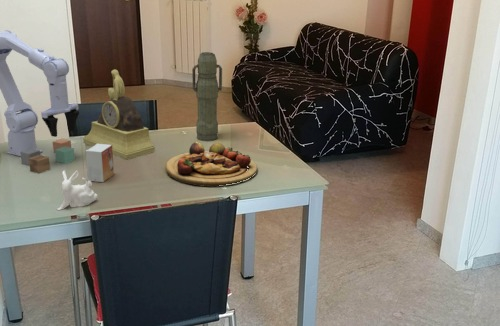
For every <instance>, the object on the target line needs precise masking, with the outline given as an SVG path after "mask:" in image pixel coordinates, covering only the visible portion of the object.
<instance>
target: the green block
mask: <svg viewBox="0 0 500 326" xmlns="http://www.w3.org/2000/svg"><path fill="white" fill-rule="evenodd" d="M54 154H55V155H54V156H55V162H57V163H60V164H64V165H65V164H68V163H72V162H74V161H75V160H76V157H75V148H73V147H71V148H70V147H65V146H64V147H61V148H58V149H55V153H54Z"/></svg>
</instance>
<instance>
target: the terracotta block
mask: <svg viewBox="0 0 500 326" xmlns="http://www.w3.org/2000/svg"><path fill="white" fill-rule="evenodd" d="M64 146H65V147H70V148H72V141H71V140H70V139H66V138H59V139H56V140H53V141H52V149H53V153H54V154H55V149H58V148H61V147H64Z"/></svg>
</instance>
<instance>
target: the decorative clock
mask: <svg viewBox="0 0 500 326" xmlns="http://www.w3.org/2000/svg"><path fill="white" fill-rule="evenodd" d="M111 76H112V86H113V87H109V88H108V89H107V91H108V92H107V94H108V98H109V100H108V101H106V102H104V103H102V104H103V105H102V107H101V112H100V114H99V115H98V117H97V120H96V121H91V127H90V128H91V129H90V131H89V132H88V134H87V135H86V136H85V137H83V138H82V140H83V144H86V143H87V144H86V145H88V144H89V145H88V146H91V147H93V146H95V145H96V144H107V145H112V150H113V156H116V157H119V158H121V159H123V160H126V161H129V160H131V159H135V158H138V157H141V156H145V155H146V156H147V155H149V154H151V153H152V154H153V153H155V151H156V149H155V146H154V144H153V142H152V141H151V137H150V132H149V128H148V127H146V126H144V123H143V119H142V117H141V114H140V112H139V110H138V108H137V107H136V105H135V103H134V102H133V101H132V98H130V97H128V96H126V88H125V83H124V81H123V78H122V77H121V76H120V72H119V71H118V70H117V69H112V70H111Z"/></svg>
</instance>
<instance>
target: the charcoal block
mask: <svg viewBox="0 0 500 326" xmlns="http://www.w3.org/2000/svg"><path fill="white" fill-rule="evenodd" d="M39 150H40V149H38V150H36V149H32V148H31V149H27V150H24V151H21V152H20V154H21V156H20V160H21V164H22V165H25V166H29V167H30V165H29V158H32V157H35V156H38V155H41V152H40V151H39Z"/></svg>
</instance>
